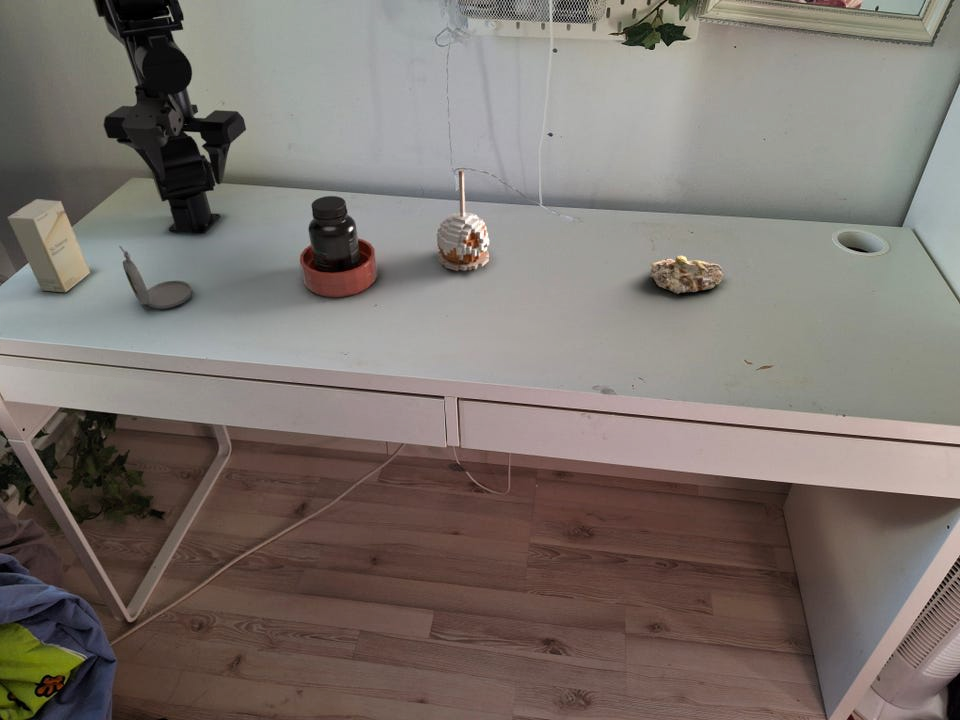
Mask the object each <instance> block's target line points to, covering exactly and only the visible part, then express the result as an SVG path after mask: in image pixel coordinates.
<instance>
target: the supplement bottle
mask: <svg viewBox="0 0 960 720" xmlns="http://www.w3.org/2000/svg"><path fill="white" fill-rule="evenodd" d="M311 211H312V213H311V214H312V220H311V221H310V222H309V225H308V228H307V229H308V236H309V242H310V245H311V248H312V253H313V259H314V264H315V270H316V271H319V272H326V273H336V272H345V271H348V270H352V269H355V268H357V267H359V266H361V258H360V251H359V243H358V238H359V235H358V230H357V224H356V221H355V219H354V218H353V217H352V216H350V215H349V213H348V207H347V202H346V200H345V198H343V197H341V196H336V195H326V196H321V197H319V198H316V199H315V200H314V201H312V203H311Z"/></svg>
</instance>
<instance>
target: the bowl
mask: <svg viewBox="0 0 960 720" xmlns="http://www.w3.org/2000/svg"><path fill="white" fill-rule="evenodd" d="M358 243H359V251H360V258H361V266H359V267H357V268H355V269H352V270H348V271H345V272H336V273H326V272H319V271H316V270H315V264H314V259H313V253H312V248H311V244H310V245H308V246H306V247H305V248H304V249H303V250H302V252H301V253H300V254H299V265H300V270H301V274H302V280H303V283H304V285H305V287H306V289H308V290H309V291H311V292H313V293H314V294H317V295H319V296H322V297H328V298H344V297H349V296H353V295H356V294H359V293H361V292H363V291H365V290H367V289H368V288H370V286H371V285H372V284H373V283H374V282H375V281H376V279H377V277H378V266H377V260H376V259H377V258H376V250H375V248H374V246H373V245H372V244H371V242H369V241H367V240H365V239H362V238H359V237H358Z"/></svg>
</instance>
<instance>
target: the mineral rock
mask: <svg viewBox="0 0 960 720" xmlns="http://www.w3.org/2000/svg"><path fill="white" fill-rule="evenodd" d="M650 268H651V274H650V275H651V277H652V278H653V280H654V281H655V284H656V285H657V286H658V287H659V288H662V289H665V290H667V291H670V292H673V293H674V294H676V295H677V294H678V295H679V294H681V293H695V292H698V291H706V290H711V289H713V288H715V287H716V285H718V284H720V283H721V281H722V280H723V277H724V276H723V275H724V274H725V273H724V271H723V268H722V266H721V265H719V264H718V263H717V264H716V263H713V262H706V261H703V260H692V259H690V260H688V258H687V257H686V256H684V255H682V254H681V255H677V256H676V258H675V259H673V258H665V259H661V260H659V261H656V262H651V264H650Z"/></svg>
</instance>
